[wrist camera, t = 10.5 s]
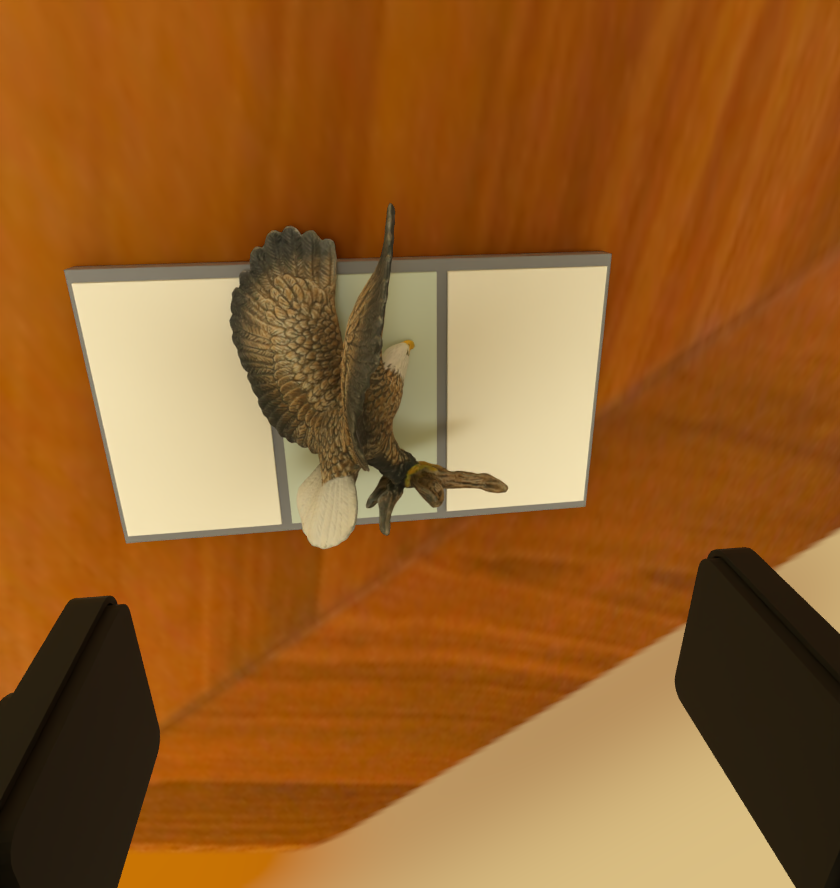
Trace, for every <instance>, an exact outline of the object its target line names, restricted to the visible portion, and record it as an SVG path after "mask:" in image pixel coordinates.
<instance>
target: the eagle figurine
mask: <svg viewBox="0 0 840 888" xmlns="http://www.w3.org/2000/svg"><path fill="white" fill-rule="evenodd" d="M394 225H395V208H394V206H393V205H392V204H391V203H390V204H389V206H388V209H387V218H386V226H385V236H384V244H383V249H382V254H381V257H380V259H379V262H378V264H377V267H376V269H375V271H374V273H373V274H372V275H371V277H370V278H369V280H368V282H367V283H366V285H365V286H364V288H363V290H362V292H361V293H360V295H359V296H358V298H357V301H356V303H355V305H354V308H353V310H352V312H351V314H350V317H349V319H348V323H347V328H346V333H345V340H344V343H343V340H342V335H341V331H340V326H339V321H338V317H337V313H336V307H335V290H336V281H337V278H336V276H337V274H336V263H337V256H336V250H335V243H334V241H332V240H331V239H324V240H322V239H320V237H319V236H318V235H317V234H316V232H314V231H313V230H309V231H307V232H305V233H303V234H301V233H300V232H299V231H298V229H296V228H295V227H293V226H287V227H285V229H284V230H283V232H278V231H276V230H274V231H271V232H270V233H268V235H267V237H266V240H265V244H264V246H263V247H259V246H258V247H255V248H254V249H253V250H252V252H251V255H250V269H251V270H250V271H249V272H248V271H245V270H243V271H242V272H241V273H240V274H239V284H240V286H239V288H238V287H236V288H235V289H234V290H233V292H232V301H231V306H230V309H231V313H232V316H231V318H230V320H229V322H230V327H231V329H232V331H233V334H232V341H233V344H234V345H235V346H236V348H237V350H238V351H237V353H238V357H239V359H240V362H241V365H242V367H243V369H244V370H245V371H246V372H247V373H248V374H247V379H248V380H249V382H250V384H251V388H252V391H253V393H254V394H255V395H256V396H257V397H258V405H259V407H260V408H261V410H262V413H263V415H264V416H265V417H266V418H267V419H268V422H269V423H270V425H271V426H273V427H274V428H275V429H276V430H277V432H278V434H279V435H280V436H281V437H283V438H286V439H287V441H289V442H290V443H297V444H298V445H299V446H300V447H302V448H307V447H308V449H309V450H310V452H311V453H312V454H318V457H319V462H320V464H319V465H318V466H317V467H316V469H315V470H314V471H313V472H312V473H311V474H310V476H309V477H308V478H307V479H306V480H305V481H304V482H303V483H302V484H301V486H300V487H299V489H298V493H297V501H296V504H297V509H298V511H299V516H300V518H301V521H302V530H303V532H304V534H305V535H306V536H307V538H308V540H309V542H310V543H311V545H312V546H315V547H320V548H321V549H327V548H330V547H333V546H337V545H338V544H340V543H341V542H342V541H345V540H346V539H347V538H348V536H349V535H350V533H351V532H352V531H353V530H354V528H355V525H356V522H357V515H358V499H357V490H356V485H355V483H356V480H357V478H358V473H359V471H360V469H361V468H362V469H363V470H364V471H367V472H369V471H370V469H369V466H373V467H374V468H376V469H377V470H379V472H380V473H381V474H382V475H383V476H382V477H381V479H380V480H379V483H378V485H377V487H376V488H375V490H374V491H373V492H372V494H371V495H370V496H369V498H368V500H367V503H366V508H372V507H374V506H375V505H376V504H377V503H378V506H379V526H380V530H381V532H382V533H383V534H384V535H389V533H390V520H391V514H392V511H393V509H394V506H395V504H396V503H397V501H398V500H399V499H400V498H401V496H402V495H403V491H404V488H415V489H416V490H417V492H418V493H419V494H420V495H421V496H422V498H423V499H424V500H425V501H426V502H427V503H428V504H429V505H430V506H431V507H433V508H436V507H439V506H441V505H442V503H443V501H444V489H460V488H476V489H482V490H484V491H487V492H491V493H505V492H507V490H508V486H507V485H506V484H505V483H504V482H502V481H501V480H499V479H497V478H495V477H494V476H492V475H490V474H488V473H480V474H476V473H473V472H466V471H449V470H447V469H445V468H443V467H441V466H440V465H437V464H431V463H428V462H425V461H416V458H415V457H413V456H412V454H411V453H409V452H406V451H405V450H403V449H400V447H399V445H398V443H397V441H396V439H395V437H394V434H393V419H394V417H395V415H396V413H397V411H398V409H399V406H400V403H401V399H402V395H403V386H404V379H405V375H406V371H407V367H408V363H409V355H410V350H411V349H413V348H414V347H415V344H414V342H413V341H411V340H406V341H403V342H401V343H398V344H395V345H393V346H391V347H389V348H387V349H386V350H385V352H384V353H383V355H382V346H383V340H382V334H383V328H384V318H385V309H386V303H387V298H388V286H389V280H390V273H391V263H392V258H393V243H394ZM368 465H369V466H368Z"/></svg>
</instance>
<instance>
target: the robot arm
mask: <svg viewBox="0 0 840 888" xmlns="http://www.w3.org/2000/svg"><path fill="white" fill-rule="evenodd" d="M675 687H676V692H677V695H678V697H679V699H680V701H681V703H682V704H683V706H684V708H685V709H686V711H687V712H688V714H689V716H690V717H691V719H692V721H693V722H694V724H695V725H696V727H697V729H698V730H699V732H700V733H701V735H702V737H703V738H704V740H705V742H706V743H707V745H708V746H709V748H710V750H711V751H712V753H713V755H714V756H715V758H716V759H717V761H718V762H719V764H720V766H721V767H722V769H723V770H724V772H725V774H726V775H727V777H728V779H729V780H730V782H731V783H732V785H733V787H734V788H735V790H736V792H737V793H738V795H739V797H740V798H741V800H742V801H743V803H744V805H745V806H746V808H747V809H748V811H749V813H750V814H751V816H752V818H753V819H754V821H755V822H756V824H757V826H758V827H759V829H760V830H761V832H762V834H763V835H764V837H765V839H766V840H767V842H768V843H769V845H770V847H771V848H772V850H773V851H774V853H775V855H776V856H777V858H778V860H779V861H780V863H781V864H782V866H783V868H784V869H785V871H786V872H787V874H788V876H789V877H790V879H791V881H792V882H793V884H794V885H795V887H796V888H840V634H839V633H838V632H837V631H836V630H835V629H834V628H833V627H832V626H831V625H830V624H829V623H828V622H827V621H826V620H825V619H824V618H823V617H822V616H821V615H820V614H819V613H818V612H816V611H815V610H814V609H813V608H812V607H811V606H810V605H809V604H808V603H807V602H806V601H805V600H804V599H803V598H802V597H801V596H800V595H799V594H798V593H797V592H796V591H795V590H794V589H793V588H792V587H791V586H790V585H789V584H787V582H785V581H784V580H783V579H782V578H781V577H780V576H779V575H778V574H777V573H776V572H775V571H774V570H773V569H772V568H771V567H770V566H769V565H768V564H767V563H766V562H765V561H764V560H763V559H762V558H761V557H760V556H759V555H758V554H757V553H756V552H754V551H753V550H752V549H750V548H746V547H742V548H729V549H716V550H713V551H711V552H710V554H709V555H708V558H707V559H704V560H702V561H701V562H700V564H699V567H698V572H697V577H696V581H695V586H694V591H693V595H692V600H691V605H690V609H689V614H688V619H687V623H686V628H685V633H684V637H683V642H682V647H681V651H680V656H679V661H678V665H677V670H676V675H675ZM159 743H160V730H159V725H158V721H157V717H156V713H155V709H154V705H153V701H152V697H151V693H150V689H149V685H148V681H147V677H146V673H145V669H144V665H143V661H142V657H141V653H140V649H139V645H138V641H137V637H136V633H135V629H134V625H133V622H132V618H131V614H130V610H129V608H128V606H127V605H125V604H120V605H118V604H117V601H116V599H115V598H114V597H113V596H100V597H87V598H74V599H72V600H70V601H69V602H68V604H67V605H66V606H65V608H64V610H63V611H62V613H61V615H60V616H59V618H58V620H57V621H56V623H55V625H54V626H53V628H52V630H51V631H50V633H49V635H48V636H47V638H46V640H45V641H44V643H43V645H42V646H41V648H40V650H39V651H38V653H37V655H36V656H35V658H34V660H33V661H32V663H31V665H30V666H29V668H28V670H27V671H26V673H25V675H24V676H23V678H22V680H21V681H20V683H19V685H18V686H17V688H16V690H15V691H14V693H10V694H9V695H7V696H5V697H4V698H3V699H2V700H1V701H0V888H117V887H118V883H119V880H120V877H121V874H122V870H123V867H124V864H125V860H126V857H127V854H128V850H129V847H130V844H131V840H132V837H133V834H134V830H135V827H136V824H137V820H138V817H139V814H140V810H141V807H142V804H143V801H144V797H145V794H146V791H147V787H148V784H149V781H150V777H151V774H152V771H153V767H154V764H155V761H156V757H157V754H158V750H159Z"/></svg>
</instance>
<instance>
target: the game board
mask: <svg viewBox="0 0 840 888" xmlns="http://www.w3.org/2000/svg"><path fill="white" fill-rule="evenodd" d="M611 256H612V254H611V253H607V252H604V251H592V252H558V253H523V254H489V255H454V256H420V257H393V258H392V263H391V273H390V280H389V286H388V298H387V303H386V309H385V318H384V328H383V334H382V340H383V346H382V355H383V353H384V352H385V350H386V349H387V348H389V347H391V346H393V345H395V344H398V343H401V342H403V341H406V340H411V341H413V342H414V344H415V347H414V348H413V349H411V350H410V355H409V363H408V367H407V371H406V375H405V379H404V386H403V395H402V399H401V403H400V406H399V409H398V411H397V413H396V415H395V417H394V419H393V434H394V437H395V439H396V441H397V443H398V445H399V447H400V449H403V450H405V451H406V452H409V453H411V454H412V456H413V457H415V458H416V461H425V462H428V463H431V464H437V465H440V466H441V467H443V468H445V469H447V470H449V471H466V472H473V473H476V474H480V473H488V474H490V475H492V476H494V477H495V478H497V479H499V480H501V481H502V482H504V483H505V484H506V485H507V486H508V490H507V492H505V493H491V492H487V491H484V490H482V489H476V488H460V489H444V501H443V503H442V505H441V506H439V507H436V508H433V507H431V506H430V505H429V504H428V503H427V502H426V501H425V500H424V499H423V498H422V496H421V495H420V494H419V493H418V492H417V490H416V489H415V488H404V491H403V495H402V496H401V498H400V499H399V500H398V501H397V503H396V504H395V506H394V509H393V511H392V514H391V520H390V522H399V521H411V520H424V519H436V518H449V517H461V516H474V515H487V514H499V513H512V512H524V511H537V510H549V509H562V508H574V507H585V506H586V496H587V486H588V477H589V467H590V458H591V448H592V438H593V429H594V419H595V410H596V400H597V390H598V381H599V371H600V362H601V352H602V342H603V333H604V323H605V314H606V304H607V294H608V285H609V275H610V266H611ZM379 259H380V258H351V259H337V263H336V274H337V276H336V278H337V281H336V290H335V307H336V313H337V317H338V321H339V326H340V331H341V335H342V340H343V343H344V340H345V333H346V328H347V323H348V319H349V317H350V314H351V312H352V310H353V308H354V305H355V303H356V301H357V298H358V296H359V295H360V293H361V292H362V290H363V288H364V286H365V285H366V283H367V282H368V280H369V278H370V277H371V275H372V274H373V273H374V271H375V269H376V267H377V264H378V262H379ZM243 270H245V271H248V272H249V271H250V270H251V269H250V261H248V262H213V263H179V264H144V265H110V266H75V267H71V268H68V269H65V270H64V272H65V277H66V281H67V285H68V290H69V294H70V299H71V303H72V307H73V312H74V316H75V321H76V325H77V329H78V334H79V338H80V343H81V347H82V351H83V356H84V360H85V365H86V369H87V373H88V378H89V382H90V387H91V391H92V395H93V400H94V404H95V409H96V413H97V417H98V422H99V426H100V431H101V435H102V439H103V444H104V448H105V453H106V457H107V461H108V466H109V470H110V475H111V479H112V483H113V488H114V492H115V497H116V501H117V505H118V510H119V514H120V519H121V523H122V527H123V532H124V536H125V540H126V543H135V542H147V541H160V540H173V539H185V538H198V537H210V536H223V535H235V534H248V533H260V532H273V531H286V530H298V529H302V521H301V518H300V516H299V511H298V509H297V504H296V501H297V493H298V489H299V487H300V486H301V484H302V483H303V482H304V481H305V480H306V479H307V478H308V477H309V476H310V474H311V473H312V472H313V471H314V470H315V469H316V467H317V466H318V465H319V464H320V462H319V457H318V454H312V453H311V452H310V450H309V449H308V447H307V448H302V447H300V446H299V445H298V444H297V443H290V442H289V441H287V439H286V438H283V437H281V436H280V435H279V434H278V432H277V430H276V429H275V428H274V427H273V426H271V425H270V423H269V422H268V419H267V418H266V417H265V416H264V415H263V413H262V410H261V408H260V407H259V405H258V397H257V396H256V395H255V394H254V393H253V391H252V388H251V384H250V382H249V380H248V379H247V374H248V373H247V372H246V371H245V370H244V369H243V367H242V365H241V362H240V359H239V357H238V353H237V351H238V350H237V348H236V346H235V345H234V344H233V341H232V334H233V331H232V329H231V327H230V322H229V320H230V318H231V316H232V313H231V309H230V306H231V301H232V292H233V290H234V289H235V288H236V287H238V288H239V286H240V284H239V274H240V273H241V272H242V271H243ZM368 466H369V465H368ZM369 469H370V471H369V472H367V471H364V470H363V469H362V468H361V469H360V471H359V473H358V478H357V480H356V483H355V485H356V490H357V499H358V515H357V522H356V525H361V524H374V523H379V506H378V503H377V504H376V505H375V506H374V507H372V508H366V503H367V500H368V498H369V496H370V495H371V494H372V492H373V491H374V490H375V488H376V487H377V485H378V483H379V480H380V479H381V477H382V476H383V475H382V474H381V473H380V472H379V470H377V469H376V468H374V467H373V466H369Z"/></svg>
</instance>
